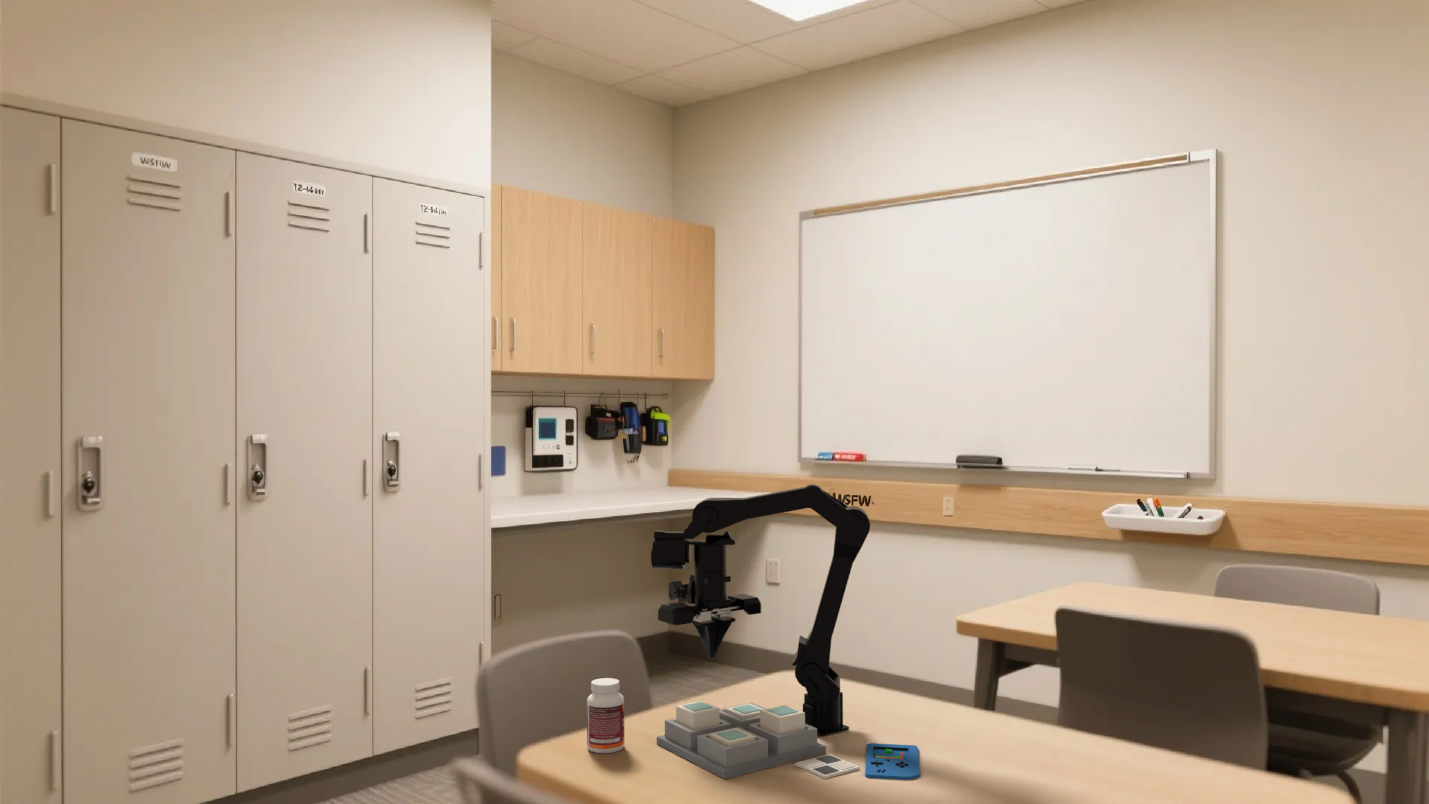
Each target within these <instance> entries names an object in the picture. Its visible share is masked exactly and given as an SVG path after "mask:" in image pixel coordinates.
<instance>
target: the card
mask: <svg viewBox="0 0 1429 804" xmlns="http://www.w3.org/2000/svg"><path fill="white" fill-rule="evenodd" d="M795 766H797V767H798V768H800V769H802V770H805V771H807V772H809V773H812V774H814V775H816V776H818V777H819V778H823V779H824V780H825V779H828V778H832V777H836V776H839V775H843V774H847V773H850V772H855V771H859V770H860V766H858V765H856V764H853V763H851V762H849V761H846V760H844V759H843V758H842V759H841V758H839V757H837V756H835V755H832V754H824V755H820V756H816V757H812V758H808V759H806V760H805V759H804V760H803V761H801V760H800V761H796V762H795Z"/></svg>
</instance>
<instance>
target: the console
mask: <svg viewBox="0 0 1429 804" xmlns="http://www.w3.org/2000/svg"><path fill="white" fill-rule="evenodd" d="M745 704H746V703H744V704H738V705H735V706H730V707H729V706H728V707H724V708H720V724H719V725H714V726H710V727H705V728H700V729H696V730H691V729H689V728H686V727H684V726H682V725H680V724H678V723H676V717H673V718H670V719H664V735H659V736H656V745H658V746H660V747H662V748H664V749H666V750H668V751H669V752H671V753H673V754H675V755H677V756H679V757H681V758H683V759H685V760H686V761H689V762H691V763H693V764H695V765H697V766H698V767H700V768H702V769H704V770H706V771H708V772H710V773H712V774H713V775H716V776H717V777H720V778H722V779H724V780H727V779H730V778H735V777H739V776H743V775H747V774H751V773H754V772H758V771H763V770H767V769H771V768H775V767H778V766H782V765H787V764H791V763H793V762H795V763H796V762H800V761H801V760H803V761H804V760H805V759H806V760H808V759H812V758H816V757H820V756H824V755H827V746H826V745H824V744H823V743H822V744H821V743H819V742H818V735H817V728H815V727H812V726H810V725H807V724H805V729H803V730H799V731H794V732H790V733H785V734H781V735H778V734H776V733H773V732H771V731H769V730H766V729H764V728H761V727H760V716H757V717H752V718H747V719H743V720H742V719H740V718H738V717H735V716H733V715H731V714H728V713H726V708H731V707H736V706H741V705H745ZM747 704H752V705H755V706H757V707H760V708H762V709H767V708H765V707H763V706H760V705H759V704H756V703H753V702H749V703H747ZM734 728H737V729H740V730H742V731H744V732H746V733H749V734H751V735H753V736H755V741H751V742H746V743H742V744H738V745H733V746H729V747H727V746H725V745H723V744H721V743H718V742H716V741H714V740H712V739H710V734H712V733H716V732H721V731H725V730H730V729H734Z"/></svg>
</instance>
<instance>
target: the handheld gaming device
mask: <svg viewBox="0 0 1429 804" xmlns="http://www.w3.org/2000/svg"><path fill="white" fill-rule="evenodd" d="M920 767H921V766H920V756H919V747H918V746H917V745H913V744H895V743H875V742H871V743H870V742H869V743H867V744H866V750H865V767H864V768H865V770H864V777H865V778H866V779H867V778H868V779H879V780H883V779H884V780H899V781H900V780H901V781H911V780H912V781H913V780H916V779H918V778H920V777H921V768H920Z"/></svg>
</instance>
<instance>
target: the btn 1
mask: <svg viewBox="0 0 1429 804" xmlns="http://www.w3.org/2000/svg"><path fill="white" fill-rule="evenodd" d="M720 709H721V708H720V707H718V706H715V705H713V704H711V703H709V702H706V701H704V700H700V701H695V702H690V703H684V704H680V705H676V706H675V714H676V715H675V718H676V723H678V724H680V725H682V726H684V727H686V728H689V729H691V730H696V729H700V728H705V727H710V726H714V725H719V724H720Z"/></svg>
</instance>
